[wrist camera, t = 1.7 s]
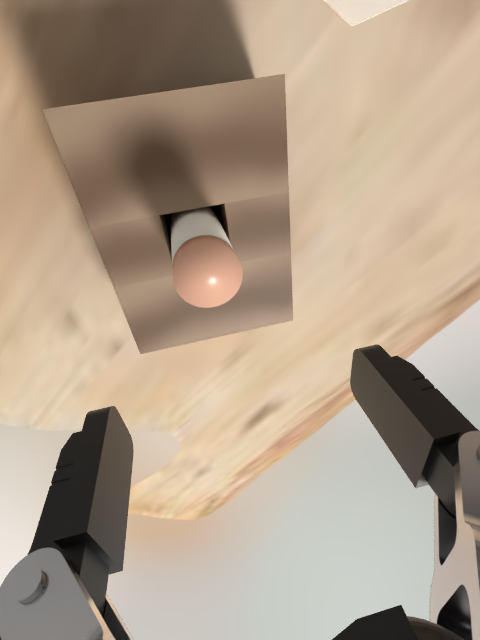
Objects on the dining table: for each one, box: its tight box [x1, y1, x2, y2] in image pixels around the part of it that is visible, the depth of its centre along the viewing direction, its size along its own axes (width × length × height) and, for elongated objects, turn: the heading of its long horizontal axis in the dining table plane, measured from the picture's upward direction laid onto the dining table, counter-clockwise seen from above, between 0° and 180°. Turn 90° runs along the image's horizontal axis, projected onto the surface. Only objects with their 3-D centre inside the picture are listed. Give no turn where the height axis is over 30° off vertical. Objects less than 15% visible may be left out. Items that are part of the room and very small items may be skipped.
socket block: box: [42, 74, 293, 354], centre depth 26 cm, size 18×14×7 cm
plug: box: [170, 206, 243, 308], centre depth 23 cm, size 4×4×13 cm
